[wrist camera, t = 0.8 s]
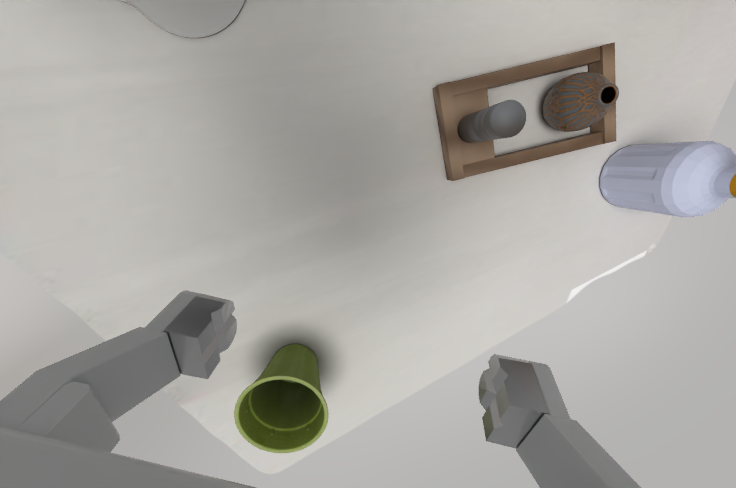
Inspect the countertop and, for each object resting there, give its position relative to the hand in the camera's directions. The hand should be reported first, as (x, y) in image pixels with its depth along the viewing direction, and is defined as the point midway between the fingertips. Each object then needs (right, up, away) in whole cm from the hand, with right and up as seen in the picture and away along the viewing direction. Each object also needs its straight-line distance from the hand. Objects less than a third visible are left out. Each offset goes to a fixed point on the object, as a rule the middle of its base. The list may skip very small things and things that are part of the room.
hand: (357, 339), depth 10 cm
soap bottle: (+39, +13, +38) cm, 56 cm away
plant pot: (-12, -16, +41) cm, 46 cm away
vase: (+27, +22, +34) cm, 49 cm away
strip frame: (+22, +21, +34) cm, 45 cm away
